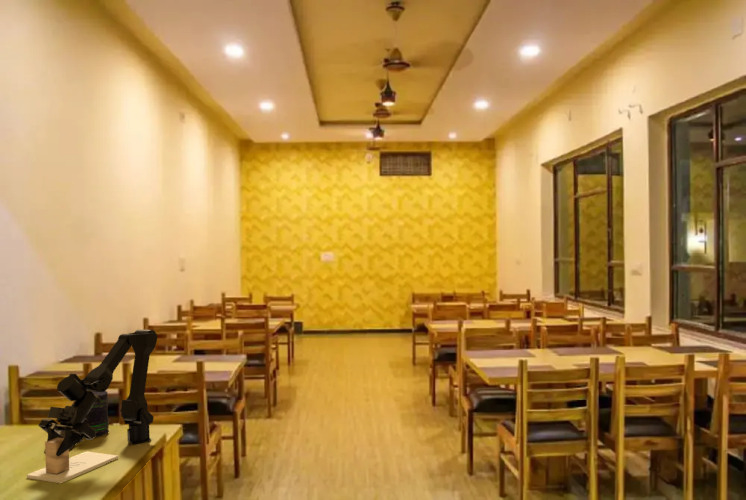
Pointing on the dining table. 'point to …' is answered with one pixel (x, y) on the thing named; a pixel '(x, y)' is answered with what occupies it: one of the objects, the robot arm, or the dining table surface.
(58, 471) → the block
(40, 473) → the board
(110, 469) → the dining table surface
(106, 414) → the storage jar
